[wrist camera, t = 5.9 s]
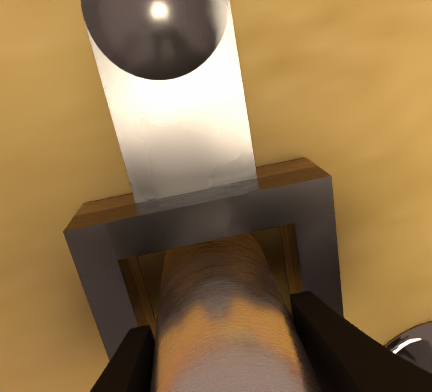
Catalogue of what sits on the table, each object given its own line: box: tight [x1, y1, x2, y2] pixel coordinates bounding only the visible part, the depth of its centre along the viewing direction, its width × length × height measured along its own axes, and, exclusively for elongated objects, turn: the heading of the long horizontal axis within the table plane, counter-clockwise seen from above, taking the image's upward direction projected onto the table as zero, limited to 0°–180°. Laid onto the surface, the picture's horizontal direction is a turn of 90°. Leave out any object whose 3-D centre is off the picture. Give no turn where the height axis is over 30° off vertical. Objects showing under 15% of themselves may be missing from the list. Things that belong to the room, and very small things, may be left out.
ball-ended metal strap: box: [63, 0, 344, 361], centre depth 13 cm, size 23×8×2 cm, turn 11°
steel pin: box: [150, 233, 323, 392], centre depth 10 cm, size 4×4×9 cm
